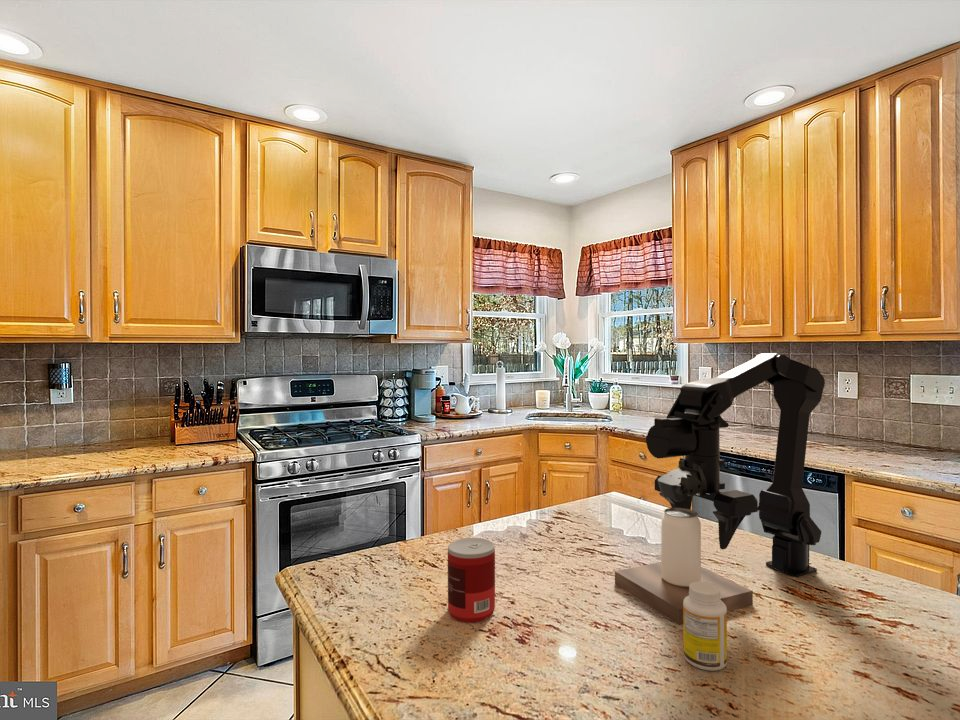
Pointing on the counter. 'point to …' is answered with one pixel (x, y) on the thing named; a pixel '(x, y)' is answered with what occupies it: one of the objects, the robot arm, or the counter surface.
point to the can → (680, 547)
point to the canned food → (471, 579)
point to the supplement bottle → (705, 627)
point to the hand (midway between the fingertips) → (702, 540)
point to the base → (676, 590)
